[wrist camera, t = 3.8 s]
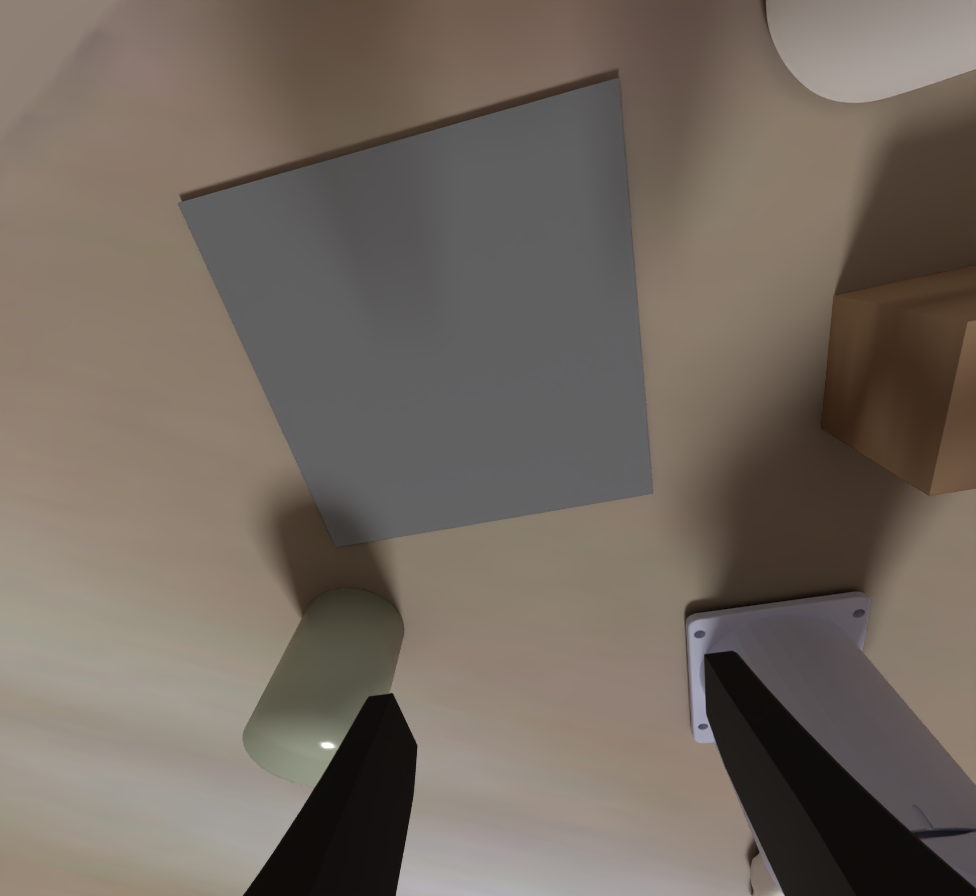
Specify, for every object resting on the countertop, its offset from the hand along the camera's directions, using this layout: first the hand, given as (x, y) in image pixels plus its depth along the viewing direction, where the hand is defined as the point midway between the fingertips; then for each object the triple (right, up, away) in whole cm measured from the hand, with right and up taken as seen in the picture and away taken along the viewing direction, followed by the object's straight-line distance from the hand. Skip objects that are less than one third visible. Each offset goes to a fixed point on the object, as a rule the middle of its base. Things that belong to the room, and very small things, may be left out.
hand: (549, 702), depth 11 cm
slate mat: (-3, +9, +6) cm, 11 cm away
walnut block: (+13, +9, +6) cm, 17 cm away
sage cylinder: (-8, -3, +12) cm, 15 cm away
